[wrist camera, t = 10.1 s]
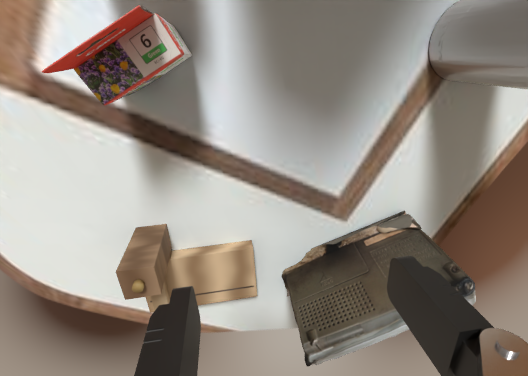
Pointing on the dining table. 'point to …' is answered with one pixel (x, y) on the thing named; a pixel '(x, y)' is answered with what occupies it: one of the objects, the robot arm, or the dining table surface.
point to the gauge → (146, 265)
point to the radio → (360, 286)
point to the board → (213, 272)
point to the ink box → (125, 55)
